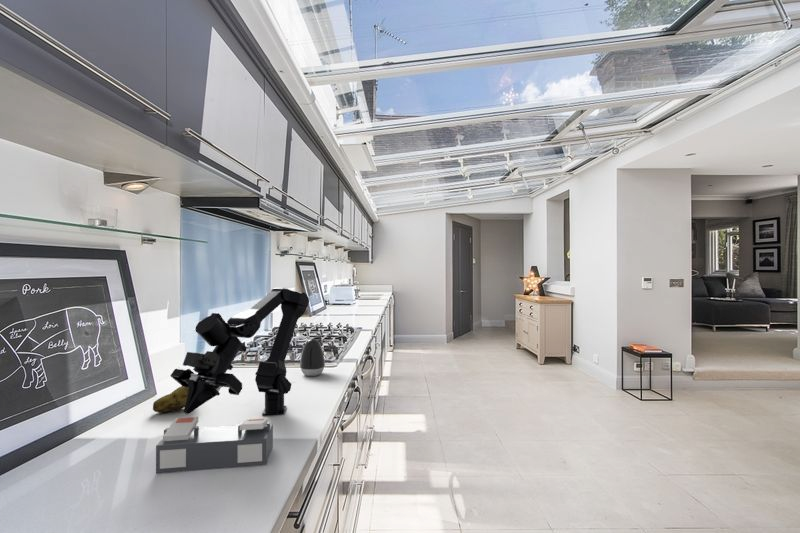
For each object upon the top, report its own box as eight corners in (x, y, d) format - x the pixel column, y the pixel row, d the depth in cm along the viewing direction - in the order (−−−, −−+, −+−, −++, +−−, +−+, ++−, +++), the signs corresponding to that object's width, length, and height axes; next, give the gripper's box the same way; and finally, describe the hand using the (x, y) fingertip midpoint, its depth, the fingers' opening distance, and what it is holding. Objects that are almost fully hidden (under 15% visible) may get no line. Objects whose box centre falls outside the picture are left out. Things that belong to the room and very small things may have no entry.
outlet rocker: (176, 422, 93) (175, 417, 93) (198, 421, 94) (198, 416, 94) (163, 441, 87) (162, 435, 86) (187, 439, 87) (187, 434, 87)
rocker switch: (246, 424, 96) (246, 419, 96) (267, 423, 96) (268, 418, 97) (239, 430, 89) (239, 424, 89) (262, 428, 90) (262, 422, 90)
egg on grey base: (330, 373, 167) (330, 337, 167) (312, 379, 158) (312, 341, 158) (312, 370, 172) (312, 335, 173) (294, 375, 164) (294, 339, 164)
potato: (161, 407, 127) (161, 382, 127) (204, 404, 129) (204, 380, 129) (149, 416, 118) (149, 390, 118) (195, 414, 120) (195, 387, 121)
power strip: (173, 454, 94) (173, 421, 94) (272, 447, 98) (272, 415, 98) (155, 474, 85) (155, 437, 85) (266, 465, 89) (266, 430, 89)
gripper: (177, 336, 101) (134, 391, 91) (233, 340, 95) (195, 401, 84) (202, 360, 109) (165, 414, 98) (256, 366, 102) (223, 424, 92)
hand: (185, 413), depth 93 cm, fingers closed
